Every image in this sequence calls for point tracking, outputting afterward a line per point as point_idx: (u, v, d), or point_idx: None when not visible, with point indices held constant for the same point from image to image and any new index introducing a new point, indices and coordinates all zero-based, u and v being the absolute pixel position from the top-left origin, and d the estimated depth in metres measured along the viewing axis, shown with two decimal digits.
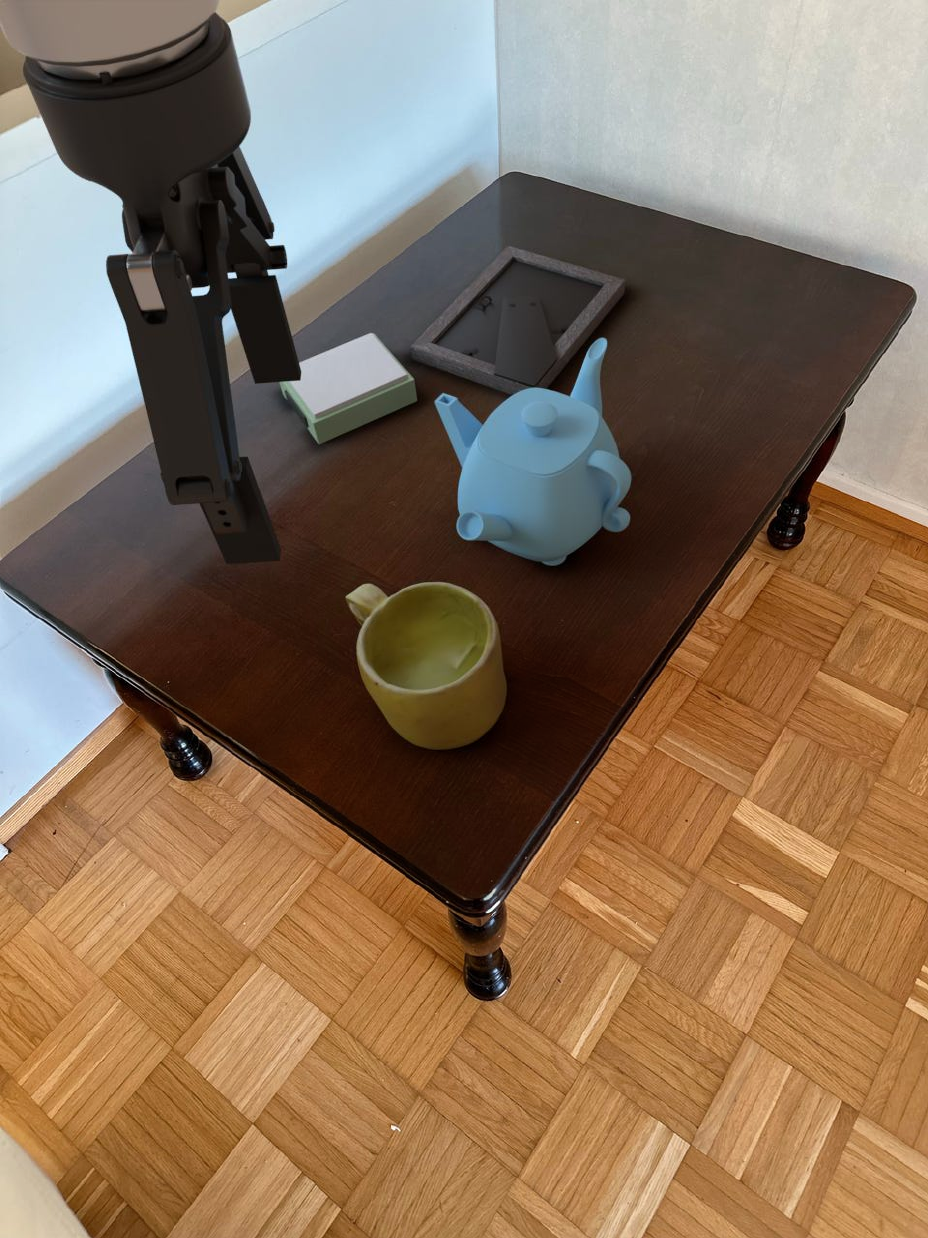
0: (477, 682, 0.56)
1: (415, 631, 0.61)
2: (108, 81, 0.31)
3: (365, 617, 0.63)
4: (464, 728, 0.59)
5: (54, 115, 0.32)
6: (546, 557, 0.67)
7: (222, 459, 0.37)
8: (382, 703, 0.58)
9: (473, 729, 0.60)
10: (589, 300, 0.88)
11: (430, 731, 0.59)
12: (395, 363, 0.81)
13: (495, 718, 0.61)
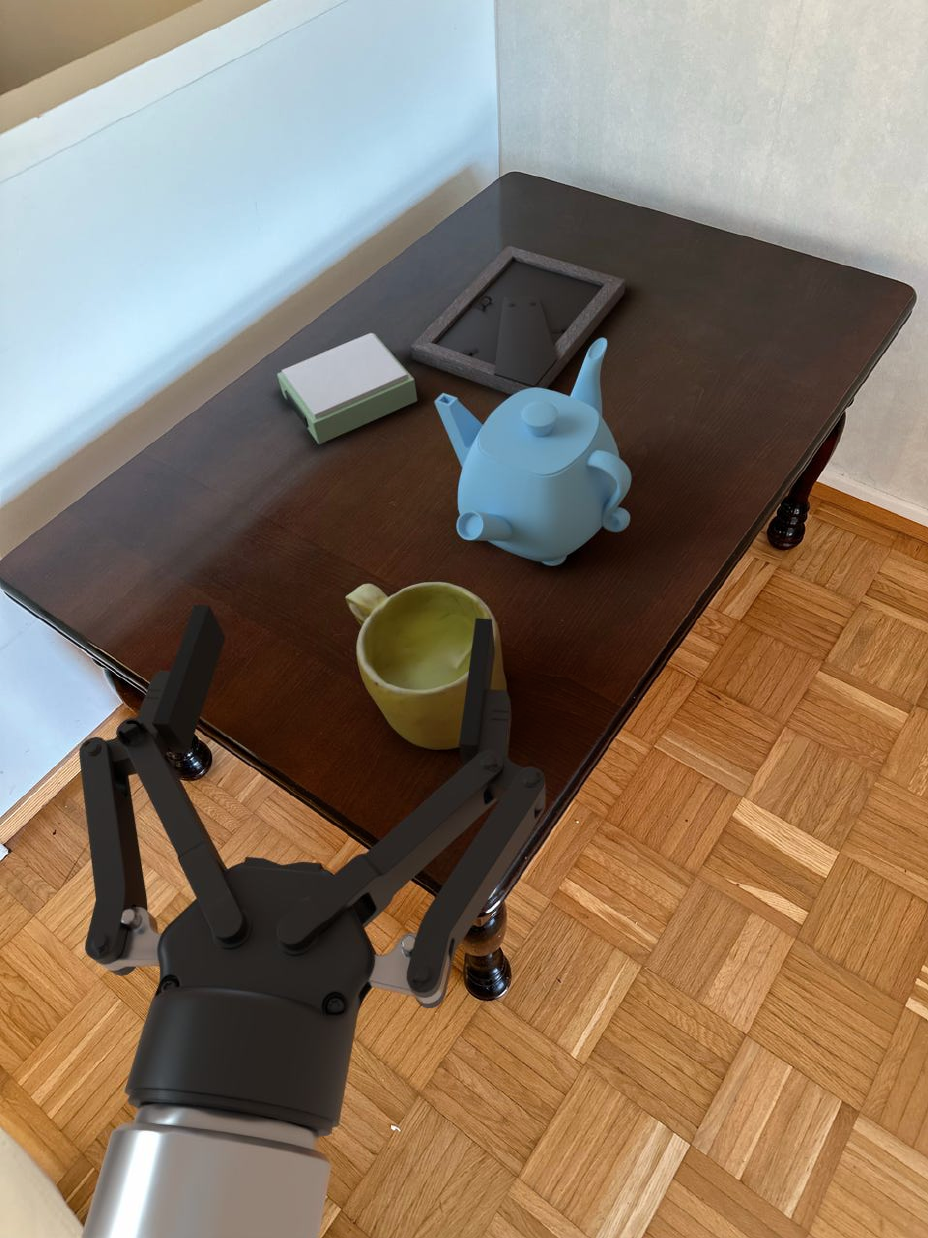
0: None
1: (414, 631, 0.61)
2: None
3: (365, 617, 0.63)
4: None
5: (136, 1065, 0.31)
6: (546, 557, 0.67)
7: None
8: (382, 703, 0.58)
9: None
10: (589, 300, 0.88)
11: (430, 731, 0.59)
12: (395, 363, 0.81)
13: None
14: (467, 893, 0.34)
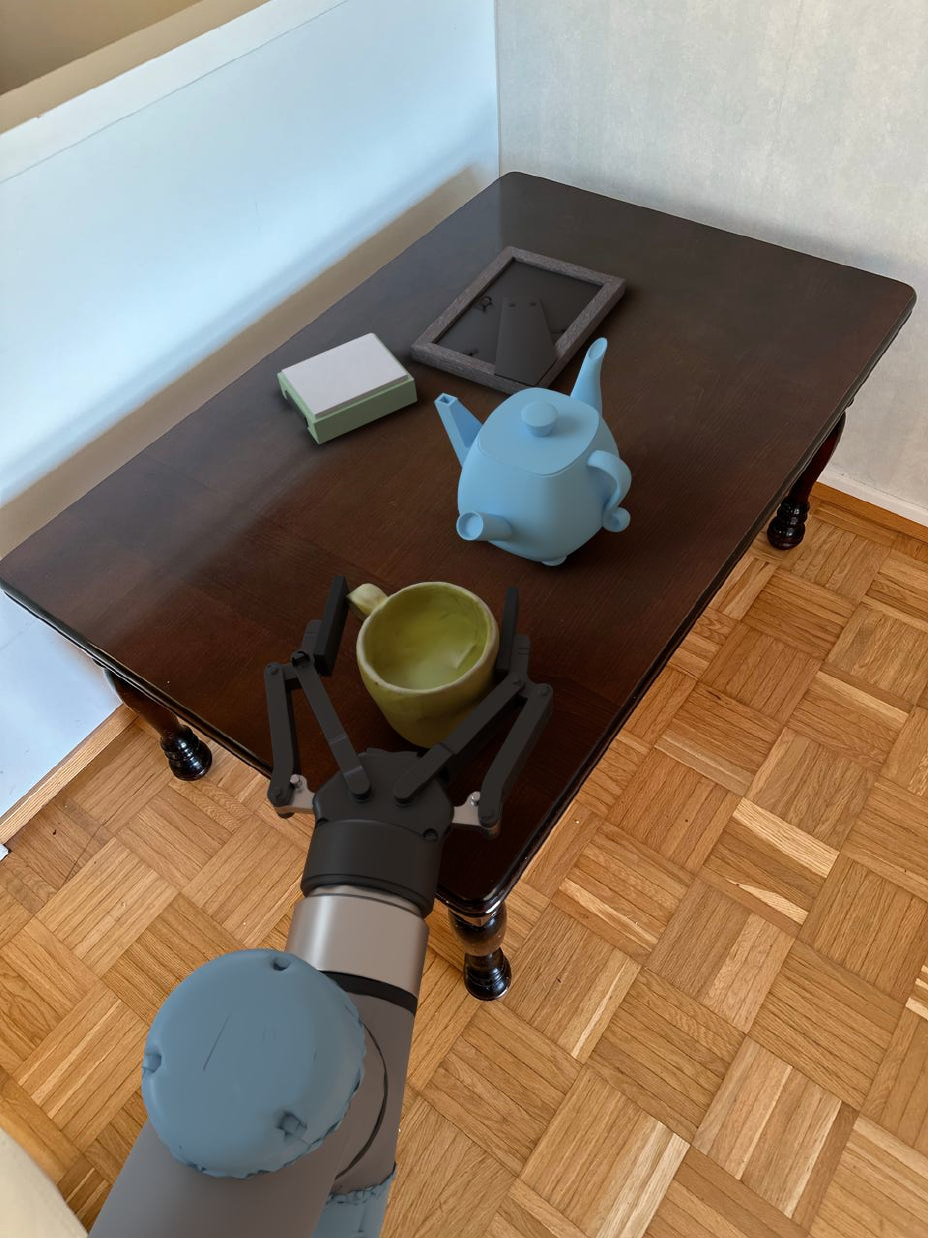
0: (477, 682, 0.56)
1: (414, 631, 0.61)
2: None
3: (365, 617, 0.63)
4: None
5: (310, 864, 0.49)
6: (546, 557, 0.67)
7: None
8: (382, 703, 0.58)
9: None
10: (589, 300, 0.88)
11: (431, 731, 0.59)
12: (395, 363, 0.81)
13: None
14: (510, 763, 0.53)
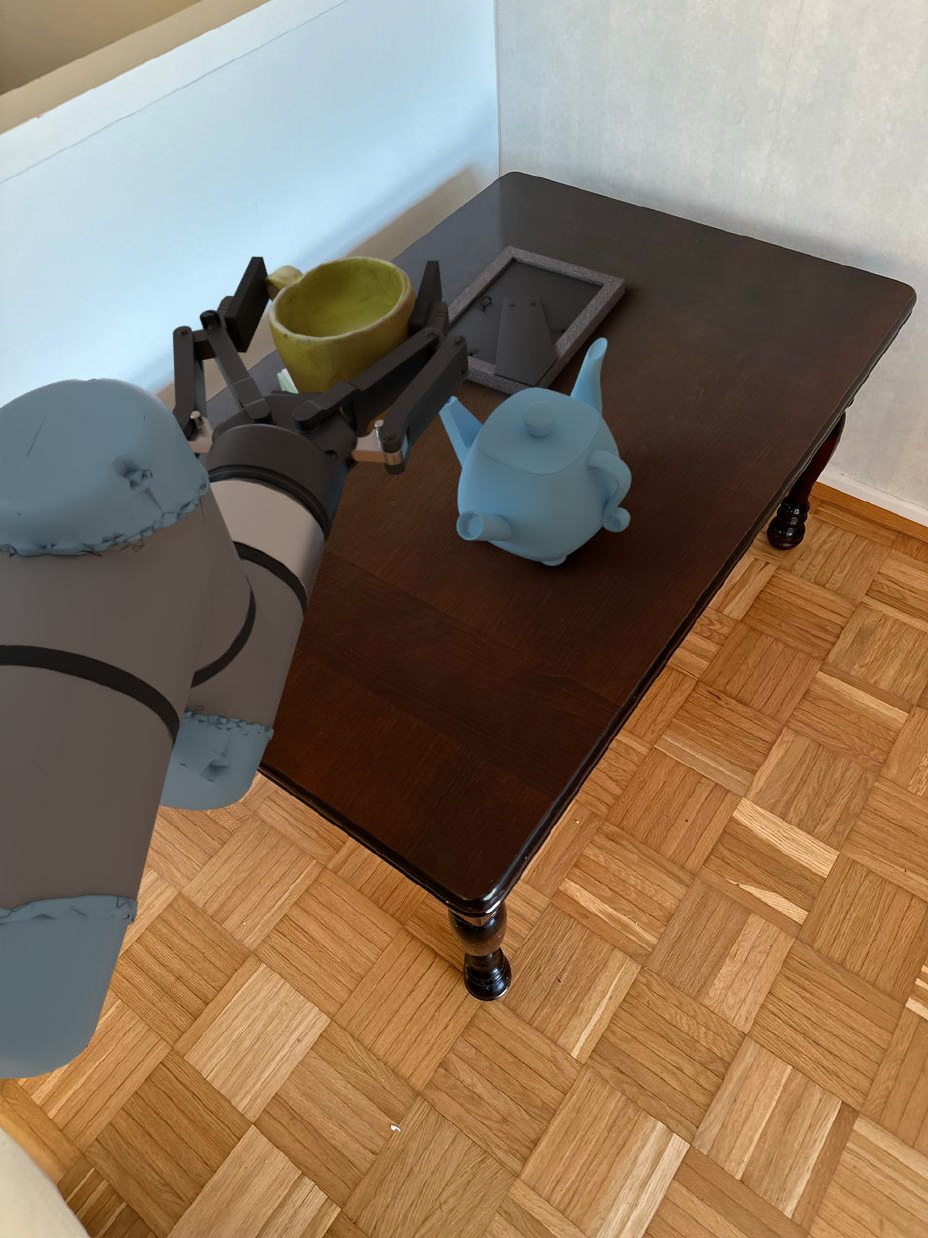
0: (389, 335, 0.55)
1: (333, 310, 0.60)
2: None
3: None
4: None
5: None
6: (546, 557, 0.67)
7: None
8: (293, 363, 0.56)
9: None
10: (589, 300, 0.88)
11: None
12: None
13: None
14: (417, 396, 0.51)
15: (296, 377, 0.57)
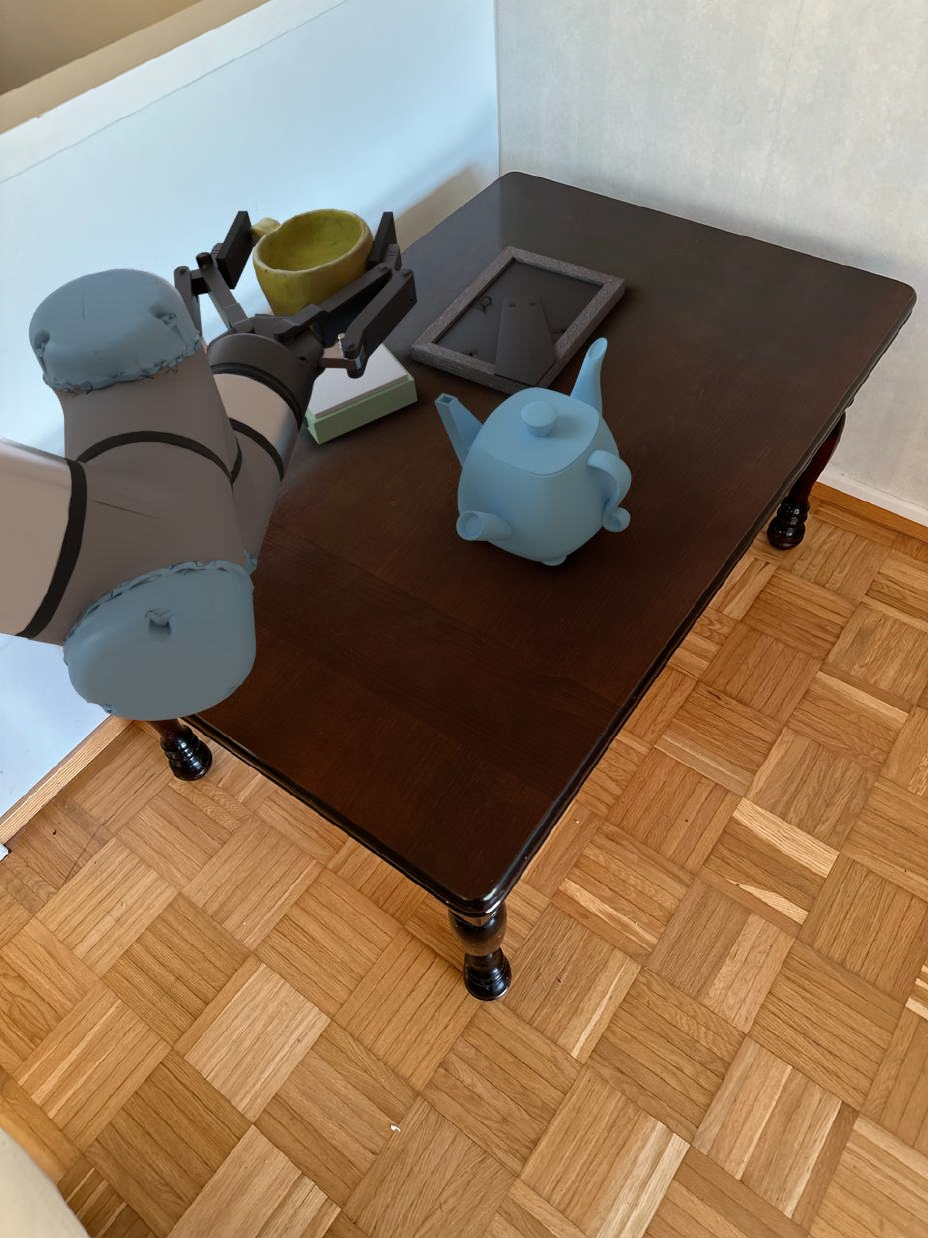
0: (351, 269, 0.67)
1: (306, 254, 0.72)
2: None
3: None
4: None
5: None
6: (546, 557, 0.67)
7: None
8: (273, 294, 0.68)
9: None
10: (589, 300, 0.88)
11: None
12: (395, 363, 0.81)
13: None
14: (372, 315, 0.64)
15: (275, 307, 0.69)
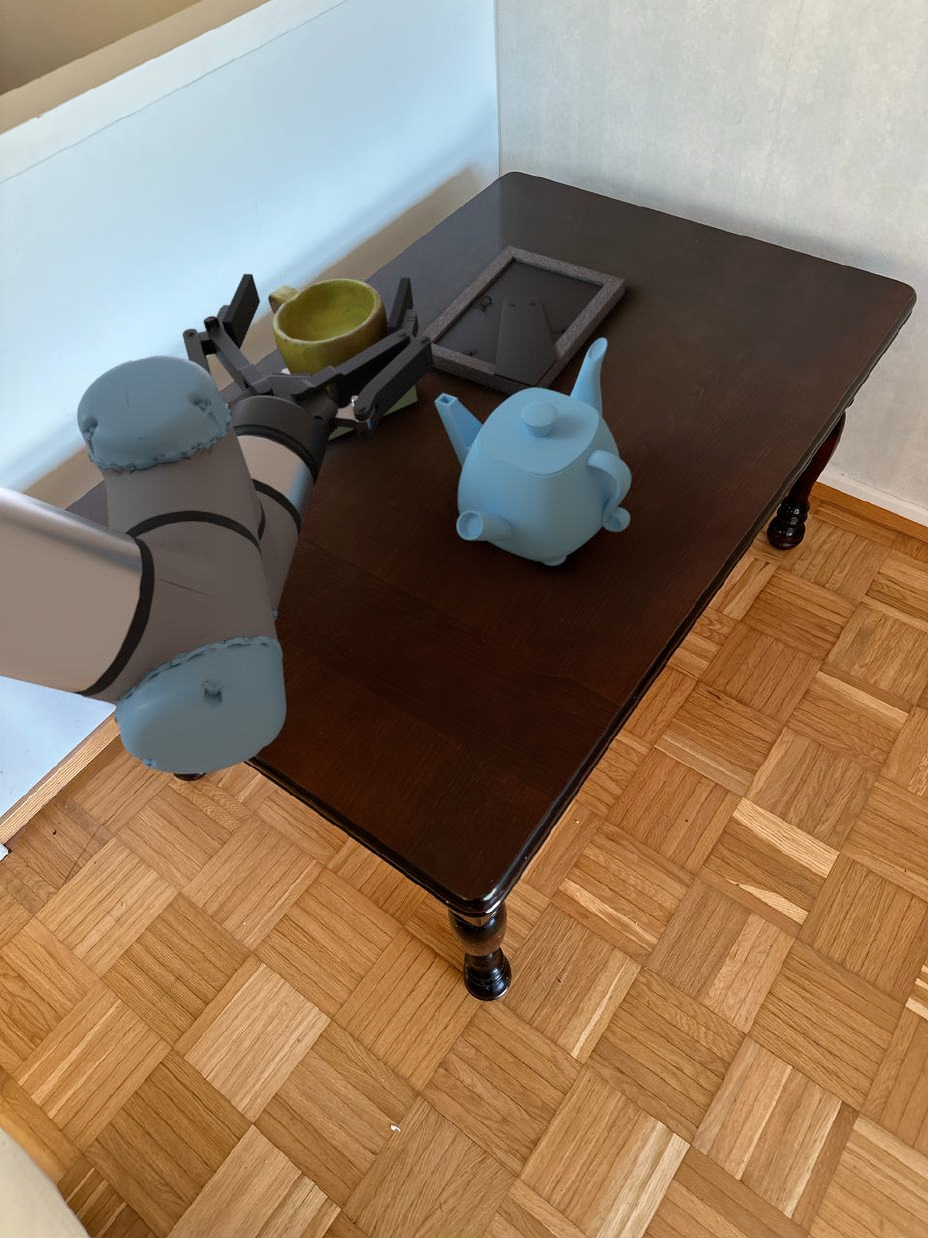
0: (364, 339, 0.72)
1: (322, 320, 0.77)
2: None
3: None
4: None
5: None
6: (546, 557, 0.67)
7: None
8: (292, 361, 0.73)
9: None
10: (589, 300, 0.88)
11: None
12: None
13: None
14: (385, 380, 0.68)
15: (294, 372, 0.74)
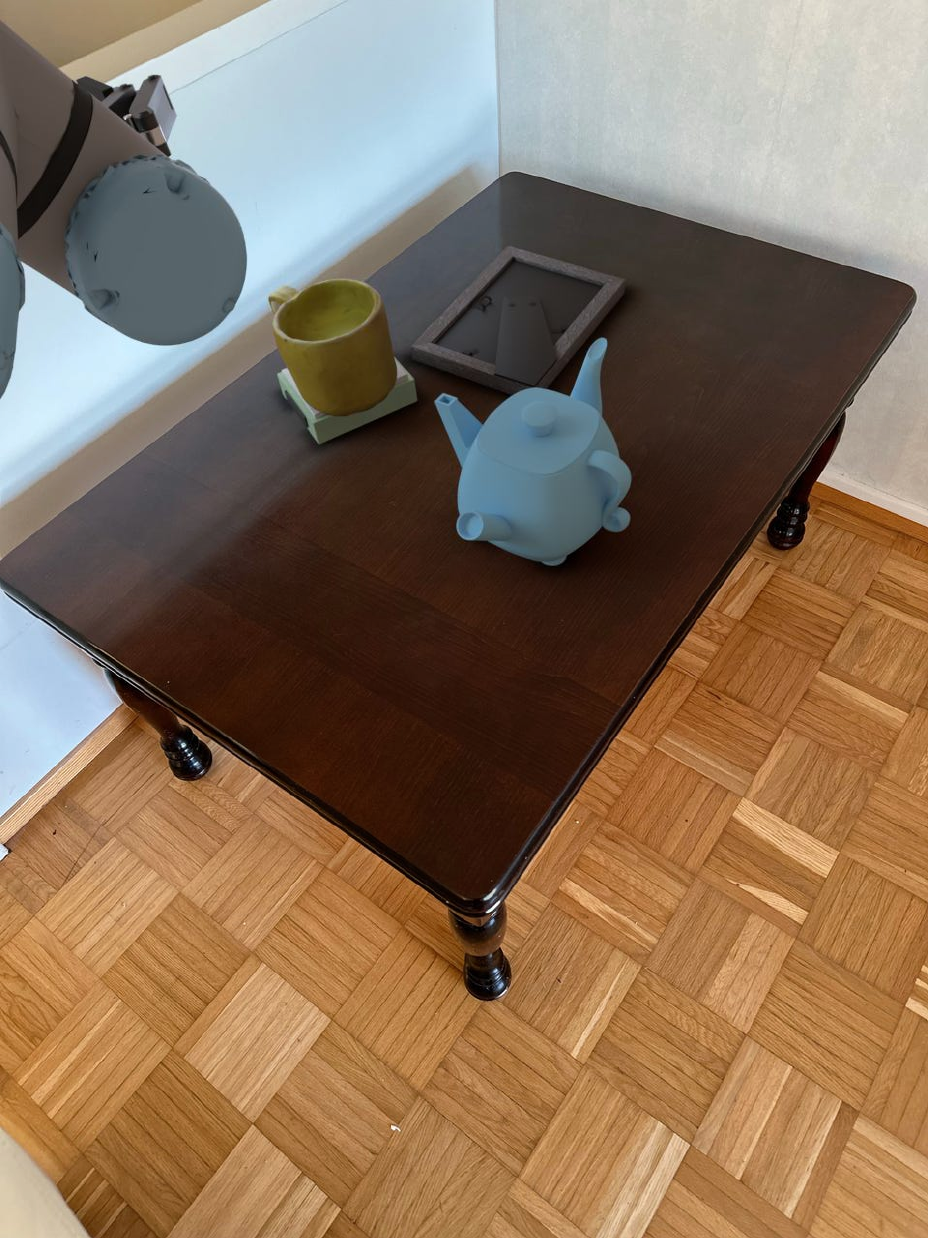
0: (364, 339, 0.72)
1: (322, 320, 0.77)
2: None
3: None
4: (359, 388, 0.75)
5: None
6: (546, 557, 0.67)
7: None
8: (292, 361, 0.73)
9: (366, 392, 0.76)
10: (589, 300, 0.88)
11: (331, 389, 0.74)
12: None
13: (386, 389, 0.77)
14: (147, 99, 0.55)
15: (294, 372, 0.74)
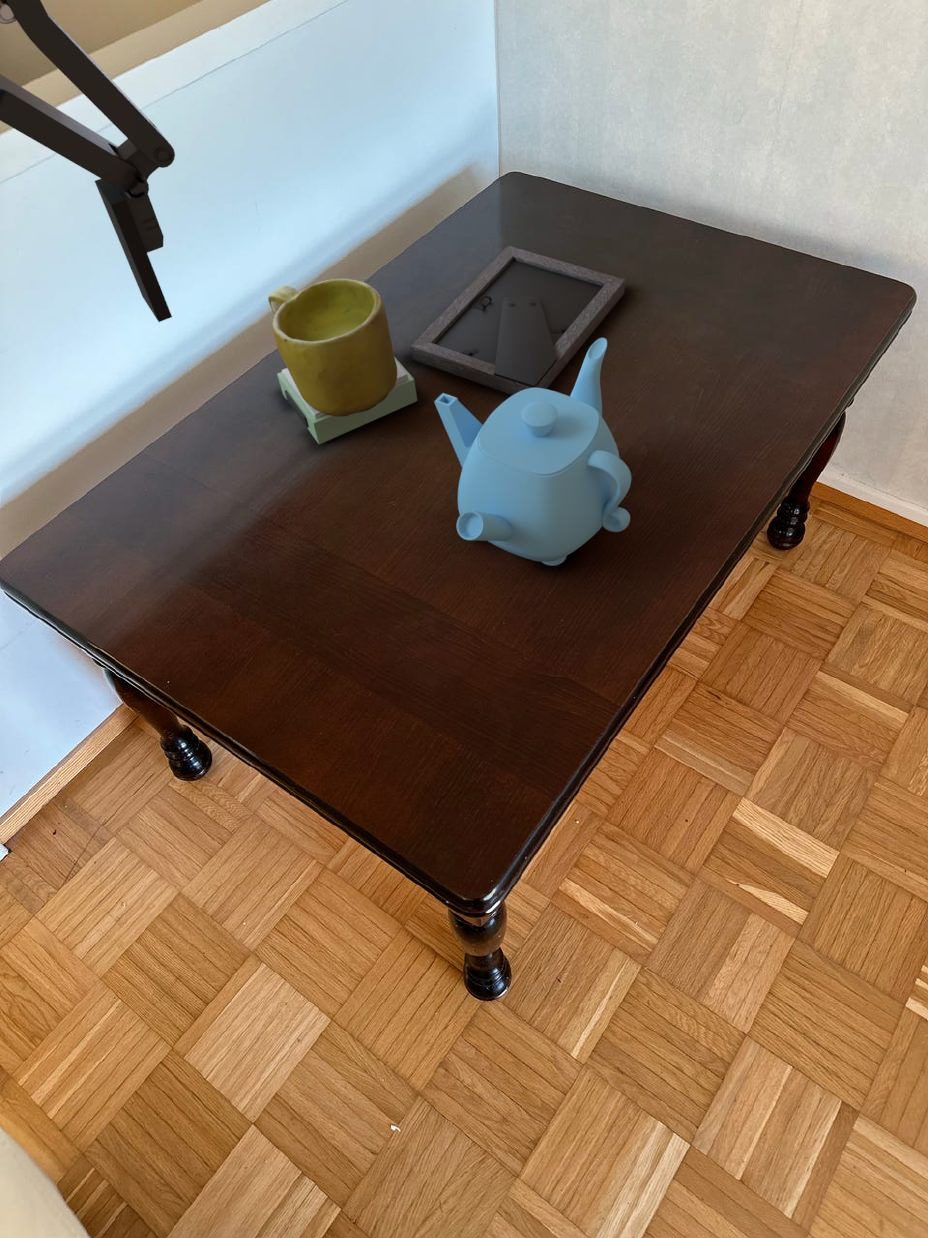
0: (364, 339, 0.72)
1: (322, 320, 0.77)
2: None
3: None
4: (359, 388, 0.75)
5: None
6: (546, 557, 0.67)
7: None
8: (292, 361, 0.73)
9: (366, 392, 0.76)
10: (589, 300, 0.88)
11: (331, 389, 0.74)
12: None
13: (386, 389, 0.77)
14: None
15: (294, 372, 0.74)
